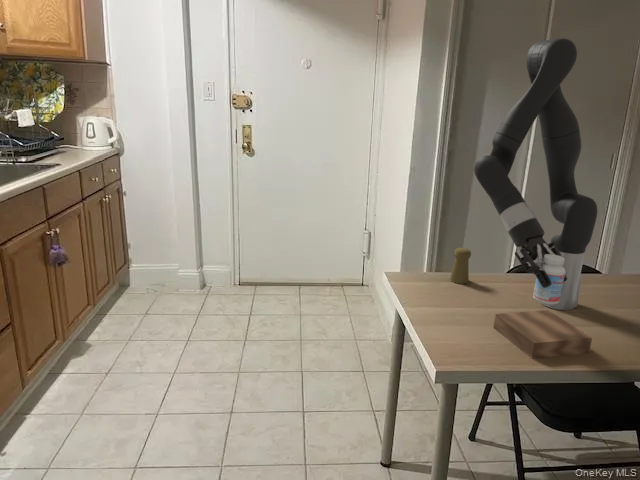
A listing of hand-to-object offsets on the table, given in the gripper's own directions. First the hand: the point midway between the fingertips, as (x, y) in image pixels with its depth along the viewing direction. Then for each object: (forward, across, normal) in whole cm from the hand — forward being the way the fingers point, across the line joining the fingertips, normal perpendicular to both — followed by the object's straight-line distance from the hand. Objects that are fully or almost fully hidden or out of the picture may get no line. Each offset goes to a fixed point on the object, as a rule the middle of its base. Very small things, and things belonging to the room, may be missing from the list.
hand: (555, 283), depth 123 cm
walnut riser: (+10, 0, +12) cm, 16 cm away
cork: (-17, +14, +40) cm, 45 cm away
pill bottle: (+2, 0, +5) cm, 5 cm away
